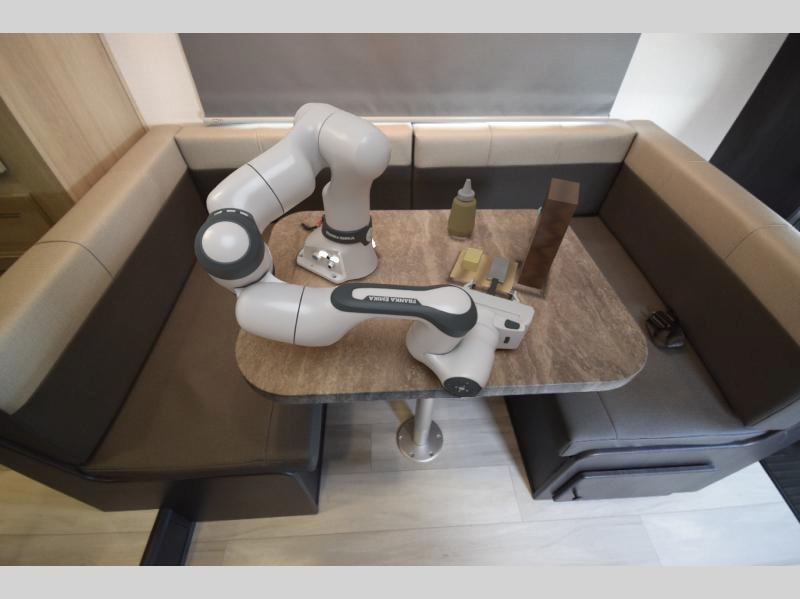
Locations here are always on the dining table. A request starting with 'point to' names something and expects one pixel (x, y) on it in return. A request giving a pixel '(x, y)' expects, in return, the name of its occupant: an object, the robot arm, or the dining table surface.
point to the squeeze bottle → (463, 212)
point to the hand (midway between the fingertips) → (493, 286)
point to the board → (483, 272)
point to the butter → (472, 259)
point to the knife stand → (549, 232)
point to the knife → (497, 273)
